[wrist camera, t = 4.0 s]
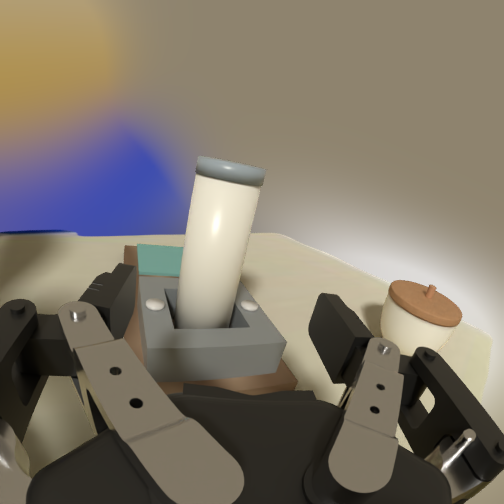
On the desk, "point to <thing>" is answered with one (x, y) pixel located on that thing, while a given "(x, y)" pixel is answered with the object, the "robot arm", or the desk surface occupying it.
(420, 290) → the lidded jar
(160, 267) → the mat
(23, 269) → the desk surface
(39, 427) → the desk surface
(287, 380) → the base board
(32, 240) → the desk surface
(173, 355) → the grey square socket
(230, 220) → the capped cream cylinder
